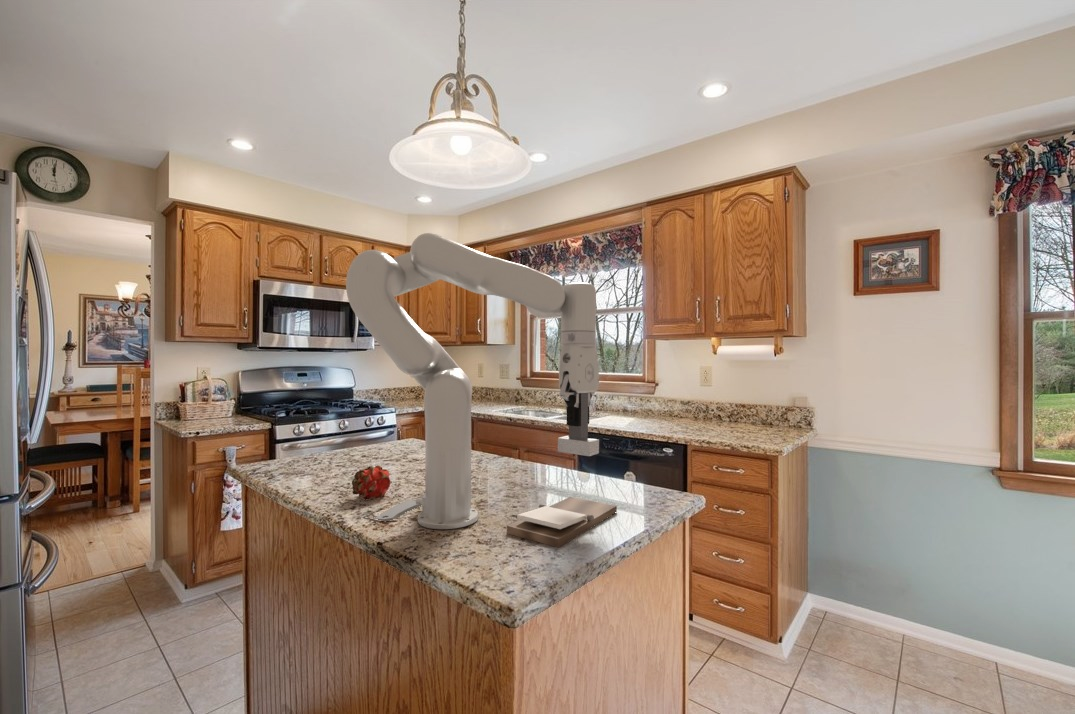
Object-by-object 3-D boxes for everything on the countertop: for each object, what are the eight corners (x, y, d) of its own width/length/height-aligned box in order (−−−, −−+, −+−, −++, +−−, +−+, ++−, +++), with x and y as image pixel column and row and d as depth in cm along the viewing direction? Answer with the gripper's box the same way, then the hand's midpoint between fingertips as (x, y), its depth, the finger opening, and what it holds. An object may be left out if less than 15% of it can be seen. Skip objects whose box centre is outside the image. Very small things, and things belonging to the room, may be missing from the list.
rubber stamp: (589, 456, 100) (590, 389, 100) (557, 451, 104) (558, 387, 105) (598, 453, 103) (599, 388, 103) (567, 448, 108) (568, 386, 108)
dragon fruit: (351, 512, 111) (383, 504, 122) (378, 492, 109) (408, 487, 121) (336, 479, 113) (369, 475, 125) (363, 460, 112) (393, 458, 123)
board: (505, 533, 93) (505, 519, 93) (568, 502, 113) (568, 491, 113) (560, 547, 86) (560, 532, 86) (618, 513, 106) (618, 500, 106)
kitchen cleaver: (429, 487, 124) (459, 490, 119) (429, 491, 124) (460, 495, 119) (352, 515, 103) (385, 520, 98) (352, 520, 103) (385, 525, 98)
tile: (545, 506, 102) (545, 510, 102) (517, 514, 94) (517, 519, 94) (586, 514, 97) (586, 519, 97) (560, 524, 88) (560, 530, 88)
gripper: (573, 338, 95) (573, 430, 95) (611, 341, 108) (610, 422, 108) (542, 339, 100) (542, 427, 99) (582, 342, 113) (582, 419, 113)
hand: (578, 424), depth 104 cm, fingers closed on rubber stamp, 3 cm apart
